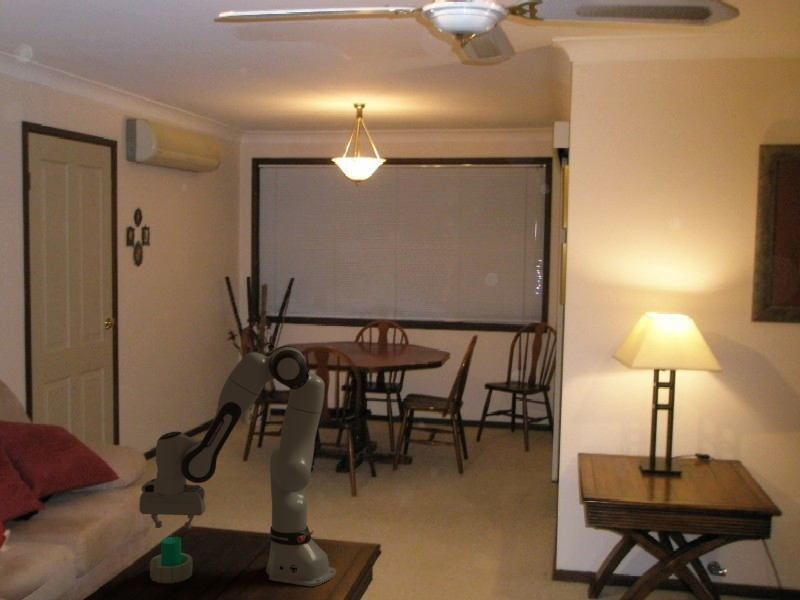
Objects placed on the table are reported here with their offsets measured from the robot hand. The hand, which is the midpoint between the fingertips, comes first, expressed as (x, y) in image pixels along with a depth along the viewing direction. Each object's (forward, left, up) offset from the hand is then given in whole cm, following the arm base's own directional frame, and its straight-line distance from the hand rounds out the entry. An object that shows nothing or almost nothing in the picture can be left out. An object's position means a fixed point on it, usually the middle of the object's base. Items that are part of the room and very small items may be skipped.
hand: (173, 527), depth 264 cm
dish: (+1, 0, -15) cm, 15 cm away
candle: (+1, 0, -15) cm, 15 cm away
